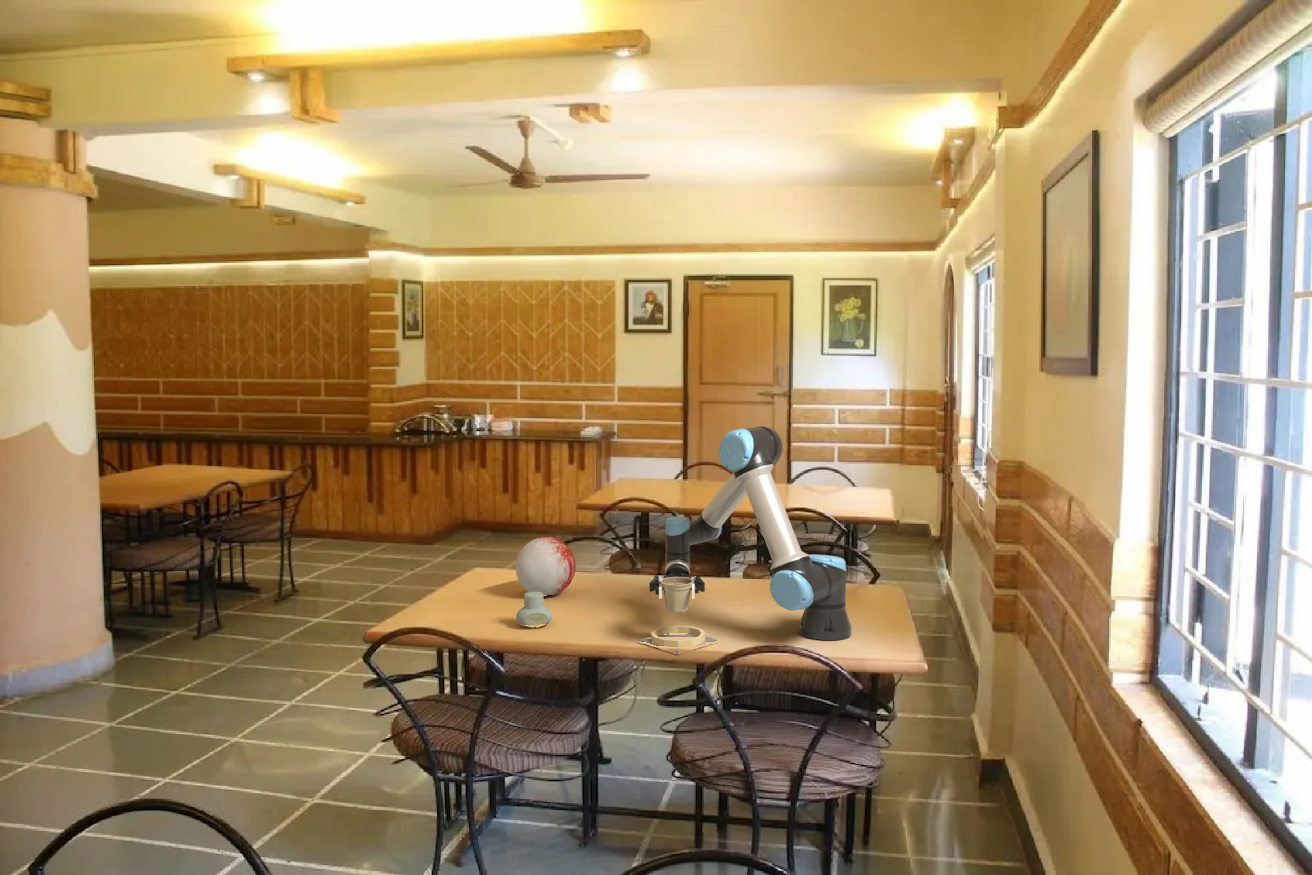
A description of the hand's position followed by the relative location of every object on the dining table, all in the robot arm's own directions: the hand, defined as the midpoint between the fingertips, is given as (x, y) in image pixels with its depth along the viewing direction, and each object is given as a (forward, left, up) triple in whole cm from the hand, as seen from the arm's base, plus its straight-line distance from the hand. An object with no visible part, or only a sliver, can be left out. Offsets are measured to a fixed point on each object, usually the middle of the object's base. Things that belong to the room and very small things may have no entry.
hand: (676, 593), depth 290 cm
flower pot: (+3, -3, -6) cm, 8 cm away
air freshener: (+47, +15, -16) cm, 52 cm away
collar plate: (+3, -3, -15) cm, 16 cm away
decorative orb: (+74, -10, -16) cm, 76 cm away
